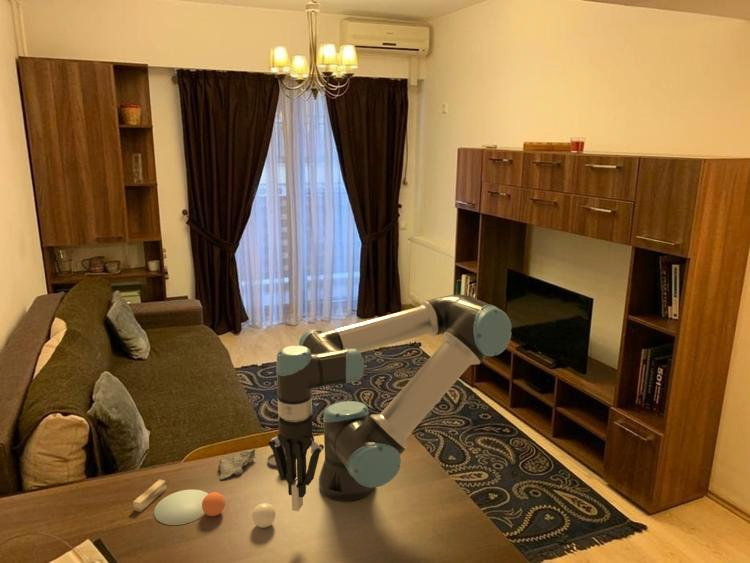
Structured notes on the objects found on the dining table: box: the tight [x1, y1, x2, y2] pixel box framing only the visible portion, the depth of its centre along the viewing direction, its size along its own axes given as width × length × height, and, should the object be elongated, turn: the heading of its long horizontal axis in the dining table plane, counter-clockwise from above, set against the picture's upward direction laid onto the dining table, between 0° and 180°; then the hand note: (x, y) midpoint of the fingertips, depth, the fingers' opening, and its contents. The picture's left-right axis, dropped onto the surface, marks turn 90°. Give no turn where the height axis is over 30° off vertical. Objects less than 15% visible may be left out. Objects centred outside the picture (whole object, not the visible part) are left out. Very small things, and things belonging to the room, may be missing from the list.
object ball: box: [202, 491, 226, 517], centre depth 138 cm, size 6×6×6 cm
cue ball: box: [251, 502, 276, 529], centre depth 134 cm, size 6×6×6 cm
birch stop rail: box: [132, 479, 168, 513], centre depth 144 cm, size 10×2×2 cm, turn 162°
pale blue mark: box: [153, 489, 209, 526], centre depth 141 cm, size 14×14×1 cm
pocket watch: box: [266, 446, 287, 468], centre depth 159 cm, size 8×8×10 cm
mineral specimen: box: [217, 448, 258, 480], centre depth 157 cm, size 6×12×4 cm, turn 124°
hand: (297, 507), depth 130 cm, fingers closed
